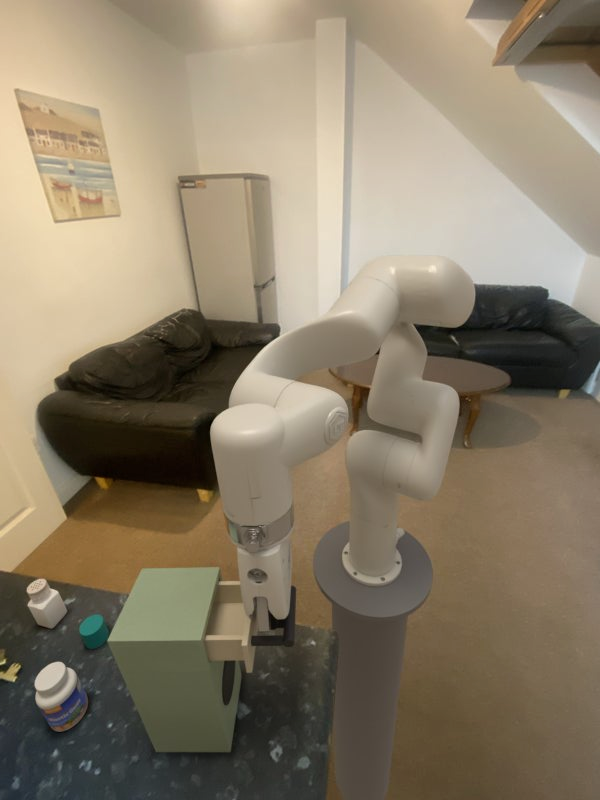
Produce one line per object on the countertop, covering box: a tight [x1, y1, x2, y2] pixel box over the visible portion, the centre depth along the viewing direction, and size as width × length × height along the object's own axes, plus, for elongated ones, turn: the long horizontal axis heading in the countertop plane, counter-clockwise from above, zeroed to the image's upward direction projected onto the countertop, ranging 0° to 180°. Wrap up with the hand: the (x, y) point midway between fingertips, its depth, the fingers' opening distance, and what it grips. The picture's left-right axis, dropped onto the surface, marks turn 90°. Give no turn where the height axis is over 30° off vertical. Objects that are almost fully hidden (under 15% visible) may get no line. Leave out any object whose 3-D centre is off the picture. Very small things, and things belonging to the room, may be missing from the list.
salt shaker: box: [26, 578, 68, 629], centre depth 71 cm, size 4×4×10 cm
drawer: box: [203, 580, 297, 674], centre depth 48 cm, size 16×10×5 cm, turn 89°
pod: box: [78, 614, 110, 650], centre depth 69 cm, size 4×4×4 cm
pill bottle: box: [34, 661, 89, 732], centre depth 57 cm, size 5×5×10 cm
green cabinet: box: [106, 566, 242, 753], centre depth 52 cm, size 11×10×26 cm
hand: (273, 622), depth 48 cm, fingers closed
